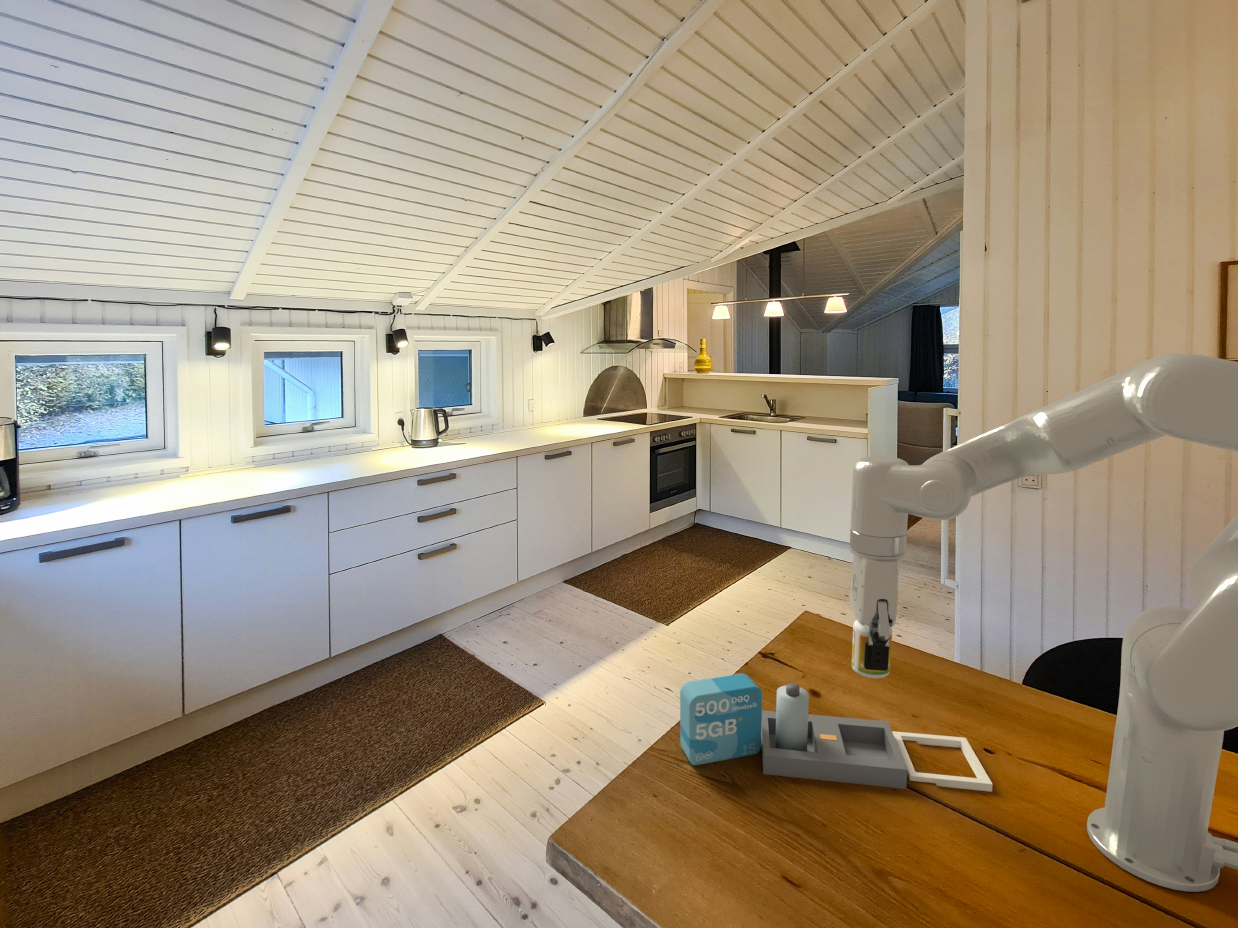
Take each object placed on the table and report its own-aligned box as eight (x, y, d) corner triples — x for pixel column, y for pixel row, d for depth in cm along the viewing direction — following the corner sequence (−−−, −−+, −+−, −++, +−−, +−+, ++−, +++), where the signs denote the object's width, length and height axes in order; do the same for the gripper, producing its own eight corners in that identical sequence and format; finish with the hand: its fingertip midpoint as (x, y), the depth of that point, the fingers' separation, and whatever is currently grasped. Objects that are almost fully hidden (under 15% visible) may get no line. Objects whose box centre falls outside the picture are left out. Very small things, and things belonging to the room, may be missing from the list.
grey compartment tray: (886, 740, 101) (887, 720, 100) (905, 791, 89) (907, 768, 88) (760, 729, 104) (761, 709, 104) (763, 776, 93) (763, 754, 92)
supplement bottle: (898, 675, 91) (901, 613, 89) (867, 681, 90) (870, 618, 88) (873, 658, 96) (876, 599, 94) (843, 664, 95) (846, 604, 93)
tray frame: (964, 744, 99) (965, 737, 99) (991, 791, 89) (992, 784, 88) (891, 737, 101) (892, 731, 101) (909, 783, 91) (910, 775, 90)
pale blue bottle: (805, 743, 99) (807, 679, 97) (808, 762, 95) (810, 695, 93) (774, 740, 100) (776, 676, 98) (776, 759, 96) (777, 693, 94)
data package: (689, 769, 95) (689, 697, 93) (679, 751, 99) (679, 682, 97) (761, 755, 98) (762, 685, 96) (748, 738, 102) (750, 671, 100)
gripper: (840, 525, 98) (836, 632, 102) (861, 560, 82) (855, 686, 85) (891, 527, 97) (885, 635, 100) (922, 563, 80) (913, 691, 84)
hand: (871, 657), depth 93 cm, fingers closed on supplement bottle, 5 cm apart
